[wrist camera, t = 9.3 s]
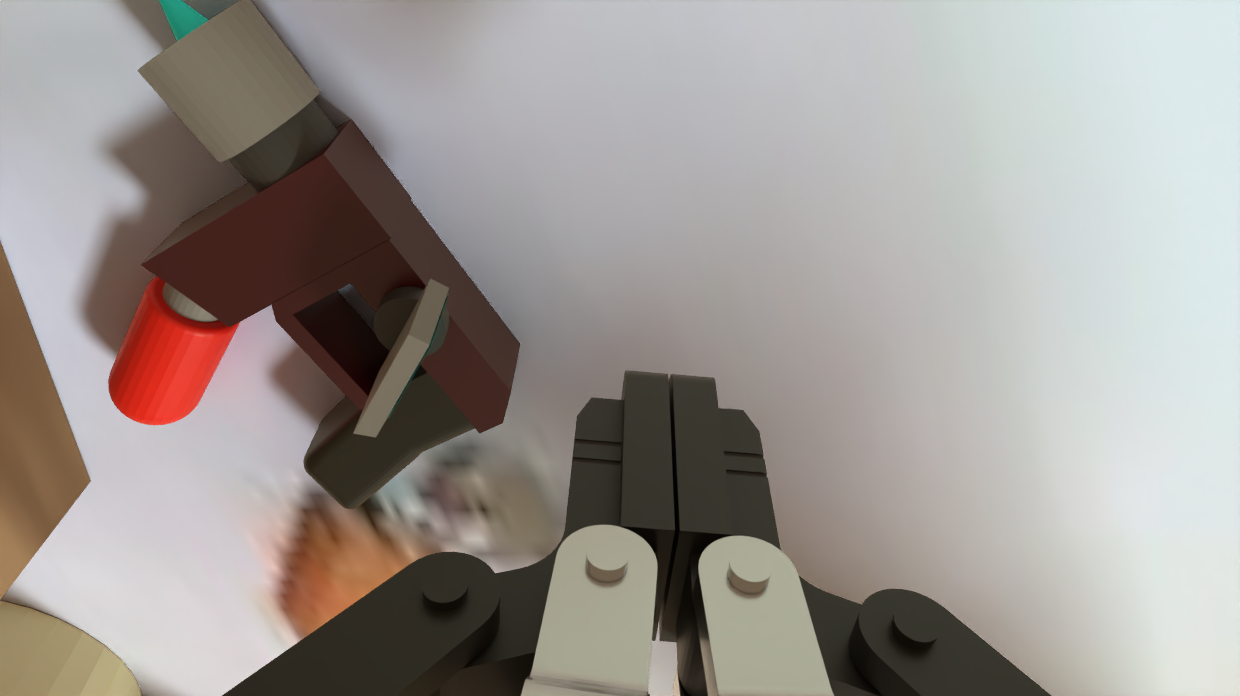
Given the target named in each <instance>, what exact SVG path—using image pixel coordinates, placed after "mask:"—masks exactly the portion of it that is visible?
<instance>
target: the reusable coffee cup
mask: <svg viewBox="0 0 1240 696" xmlns="http://www.w3.org/2000/svg"><path fill="white" fill-rule="evenodd" d="M0 696H142V695H141V690H140V688H139V686H138V683H137V681H136V679H135V677H134V675H133V674H132V673H131V672H130V670H129V669H128V668H127V667H126V665H125V664H124V663H123V661H122V660H120V659H119V658H118V657H117V656H116V655H115V654H114V653H113V652H111V651H110V650H109V649H108V648H107V647H106V646H104V645H103V644H101V643H100V642H98V641H97V640H95V639H94V638H92V637H91V636H89V635H88V634H86V633H85V632H83V631H81V630H79V629H77V628H75V627H73V626H71V625H70V624H68V623H66V622H64V621H62V620H60V619H57V618H55V617H52V616H49V615H47V614H44V613H41V612H39V611H36V610H34V609H31V608H27V607H23V606H20V605H16V604H12V603H9V602H5V601H0Z"/></svg>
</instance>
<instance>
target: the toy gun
mask: <svg viewBox="0 0 1240 696" xmlns="http://www.w3.org/2000/svg"><path fill="white" fill-rule="evenodd" d="M159 2H160V4H161V6H162V9H163V11H164V13H165V16H166V18H167V20H168V22H169V25H170V27H171V29H172V32H173V34H174V36H175V39H176V41H177V42H176V43H174V44H173V45H171V46H170V47H169V48H167V49H166V50H164V51H163V52H161V53H160V54H159V55H157V56H156V57H154V58H153V59H152V60H150V61H149V62H147V63H146V64H145V65H143V66H142V67H141V68H140V69H138V72H139V73H140V74H141V75H142V76H143V77H144V78H145V80H146V81H147V82H148V83H149V84H150V85H151V86H152V88H153V89H154V90H155V91H156V92H157V93H158V94H159V96H160V97H161V98H162V99H163V100H164V101H165V102H166V104H167V105H168V106H169V107H170V108H171V109H172V110H173V111H174V113H175V114H176V115H177V116H178V117H179V118H180V119H181V121H182V122H183V123H184V124H185V125H186V126H187V127H188V129H189V130H190V131H191V132H192V133H193V134H194V135H195V137H196V138H197V139H198V140H199V141H200V142H201V143H202V144H203V146H204V147H205V148H206V149H207V150H208V151H209V152H210V154H211V155H212V156H213V157H214V158H215V159H216V160H217V162H218V163H221V162H224V161H226V160H228V159H229V160H230V161H231V163H232V164H233V165H234V166H235V167H236V168H237V169H238V171H239V172H240V173H241V174H242V175H243V176H244V178H245V179H246V180H247V181H248V183H246V184H245V185H243V186H241V187H240V188H238V189H237V190H235V191H233V192H232V193H230V194H228V195H227V196H225V197H224V198H222V199H220V200H219V201H217V202H215V203H214V204H212V205H210V206H209V207H207V208H206V209H204V210H202V211H201V212H199V213H197V214H196V215H194V216H192V217H191V218H189V219H188V220H186V221H184V222H183V223H181V225H180V226H179V227H178V228H177V229H176V230H175V231H174V232H173V233H172V234H171V235H170V236H169V237H168V238H167V239H166V240H165V241H164V242H163V243H162V244H161V245H160V246H159V247H158V248H157V249H156V250H155V251H154V252H153V253H152V254H151V255H150V256H149V257H148V258H147V259H146V260H145V261H144V262H143V263H142V264H141V265H142V266H144V267H145V268H146V269H148V270H149V271H151V272H152V273H153V274H155V275H156V277H155V278H154V279H153V280H151V281H150V283H149V284H148V286H147V287H146V289H145V292H144V294H143V296H142V299H141V301H140V303H139V306H138V308H137V310H136V313H135V315H134V318H133V320H132V322H131V325H130V327H129V329H128V332H127V334H126V336H125V339H124V341H123V343H122V346H121V348H120V350H119V353H118V355H117V357H116V360H115V362H114V364H113V367H112V369H111V372H110V376H109V381H108V383H109V393H110V396H111V399H112V401H113V402H114V404H115V406H116V407H117V408H118V409H119V410H120V411H121V413H123V414H124V415H125V416H127V417H128V418H130V419H132V420H134V421H136V422H139V423H143V424H147V425H164V424H169V423H173V422H175V421H178V420H180V419H182V418H184V417H185V416H186V415H188V414H189V413H190V412H191V411H192V410H193V409H194V408H195V407H196V406H197V405H198V403H199V401H200V399H201V397H202V395H203V393H204V391H205V389H206V388H207V386H208V384H209V382H210V380H211V378H212V376H213V374H214V372H215V370H216V368H217V366H218V364H219V362H220V360H221V358H222V356H223V355H224V353H225V351H226V349H227V347H228V345H229V343H230V341H231V339H232V337H233V335H234V333H235V331H236V329H237V327H238V325H239V323H240V321H242V320H244V319H246V318H248V317H249V316H251V315H253V314H255V313H257V312H259V311H260V310H262V309H264V308H266V307H268V306H269V305H271V304H272V308H273V311H274V315H275V319H276V322H277V323H278V324H279V325H280V326H281V327H282V328H283V329H284V330H285V331H286V332H287V333H288V334H289V335H290V336H291V338H292V339H293V340H294V341H295V342H296V343H297V344H298V345H299V346H300V347H301V348H302V349H303V350H304V351H305V352H306V353H307V354H308V355H309V357H310V358H311V359H312V360H313V361H314V362H315V363H316V364H317V365H318V366H319V367H320V368H321V369H322V370H323V371H324V372H325V373H326V375H327V376H328V377H329V378H330V379H331V380H332V381H333V382H334V383H335V384H336V385H337V386H338V387H339V388H340V389H341V390H342V391H343V393H344V394H345V395H346V397H345V398H344V399H343V400H342V401H341V402H340V403H339V404H338V405H337V406H336V407H334V408H333V409H332V410H331V411H330V412H329V413H328V414H327V415H326V416H325V417H324V418H323V420H322V421H321V423H320V425H319V427H318V429H317V431H316V434H315V436H314V438H313V440H312V442H311V444H310V446H309V448H308V450H307V453H306V455H305V457H304V468H305V470H306V472H307V473H308V474H309V475H310V476H311V477H312V478H313V479H314V480H315V481H316V482H317V483H318V484H319V485H321V486H322V487H323V488H324V489H325V490H326V491H327V492H328V493H329V494H330V495H331V496H332V497H333V498H334V499H335V500H336V501H337V502H338V503H339V504H340V505H342V506H343V507H345V508H347V509H354V508H357V507H358V506H360V505H361V504H362V503H363V502H365V501H366V500H367V499H368V498H369V497H371V496H372V495H373V494H374V493H375V492H376V491H378V490H379V489H380V488H381V487H382V486H384V485H385V484H386V483H387V482H388V481H389V480H391V479H392V478H393V477H394V476H395V475H397V474H398V473H399V472H400V471H401V470H402V469H404V468H405V467H406V466H407V465H408V464H410V463H411V462H412V461H413V460H414V459H415V458H416V457H417V456H418V455H419V454H420V453H422V452H423V451H425V450H427V449H430V448H432V447H434V446H436V445H439V444H441V443H443V442H445V441H447V440H450V439H452V438H454V437H456V436H458V435H461V434H463V433H465V432H467V431H469V430H472V429H474V428H475V429H476V430H477V431H478V432H479V433H482V432H484V431H486V430H488V429H490V428H493V427H495V426H497V425H499V424H502V423H503V420H504V417H505V413H506V409H507V405H508V401H509V397H510V393H511V389H512V383H513V378H514V373H515V367H516V362H517V357H518V351H519V346H520V343H519V342H518V341H517V339H516V338H515V337H514V335H513V334H512V333H511V331H510V330H509V329H508V327H507V326H506V325H505V323H504V322H503V321H502V319H501V318H500V317H499V316H498V314H497V313H496V312H495V310H494V309H493V308H492V306H491V305H490V304H489V302H488V301H487V300H486V298H485V297H484V296H483V294H482V293H481V292H480V291H479V289H478V288H477V287H476V285H475V284H474V283H473V281H472V280H471V279H470V277H469V276H468V275H467V273H466V272H465V271H464V269H463V268H462V267H461V266H460V264H459V263H458V262H457V260H456V259H455V258H454V256H453V255H452V254H451V252H450V251H449V250H448V248H447V247H446V246H445V245H444V243H443V242H442V241H441V239H440V238H439V237H438V235H437V234H436V233H435V231H434V230H433V229H432V227H431V226H430V225H429V223H428V222H427V221H426V220H425V218H424V217H423V216H422V214H421V213H420V212H419V210H418V209H417V208H416V206H415V205H414V204H413V202H412V201H411V197H410V195H409V194H408V193H407V192H406V190H405V189H404V188H403V186H402V185H401V184H400V182H399V181H398V180H397V178H396V177H395V176H394V174H393V173H392V172H391V170H390V169H389V168H388V166H387V165H386V164H385V163H384V161H383V160H382V159H381V157H380V156H379V155H378V153H377V152H376V151H375V149H374V148H373V147H372V145H371V144H370V143H369V141H368V140H367V139H366V137H365V136H364V135H363V134H362V132H361V131H360V130H359V128H358V127H357V126H356V124H355V123H354V122H353V120H352V119H351V120H349V121H348V122H346V123H344V124H343V125H341V126H339V127H338V128H335V126H334V125H333V124H332V122H331V121H330V120H329V119H328V117H327V116H326V115H325V113H324V112H323V111H322V110H321V108H320V107H319V106H318V104H317V103H316V102H315V100H314V98H315V97H316V96H317V95H318V94H319V93H320V90H319V89H318V88H317V86H316V85H315V84H314V82H313V81H312V80H311V79H310V77H309V76H308V75H307V73H306V72H305V71H304V69H303V68H302V67H301V65H300V64H299V63H298V62H297V60H296V59H295V58H294V56H293V55H292V54H291V52H290V51H289V50H288V49H287V47H286V46H285V45H284V43H283V42H282V41H281V39H280V38H279V37H278V36H277V34H276V33H275V32H274V30H273V29H272V28H271V26H270V25H269V24H268V22H267V21H266V20H265V19H264V17H263V16H262V15H261V13H260V12H259V11H258V9H257V8H256V7H255V6H254V4H253V3H252V2H251V0H240V1H238V2H236V3H235V4H233V5H232V6H230V7H228V8H227V9H225V10H224V11H222V12H221V13H219V14H218V15H216V16H215V17H213V18H211V19H210V20H208V19H207V18H205V17H204V16H202V15H201V14H200V13H198V12H197V11H196V10H194V9H193V8H191V7H190V6H189V5H187V4H186V3H184V2H183V1H182V0H159ZM350 283H351V284H352V285H353V286H354V288H355V289H356V290H357V291H358V292H359V293H360V295H361V296H362V297H363V298H364V299H365V300H366V302H367V303H368V304H369V305H370V306H371V307H372V309H373V310H374V311H375V312H376V313H375V316H374V319H373V328H374V332H375V333H374V332H373V330H372V329H371V328H370V327H369V326H368V325H367V324H366V322H365V321H364V320H363V319H362V318H361V317H360V316H359V314H358V313H357V312H356V311H355V310H354V309H353V308H352V306H351V305H350V304H349V303H348V302H347V301H346V299H345V298H344V297H343V296H342V295H341V294H340V293H339V291H338V290H339V289H341V288H343V287H344V286H346V285H348V284H350Z"/></svg>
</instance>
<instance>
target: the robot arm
mask: <svg viewBox="0 0 1240 696" xmlns="http://www.w3.org/2000/svg"><path fill="white" fill-rule="evenodd" d="M766 474H767V472H766V466H765V461H764V459H763V450H762V444H761V438H760V433H759V430H758V429H757V428H756V427H755V425H754V424H753V423H752V421H751V420H750V419H749V417H748V416H747V415H746V413H745V412H744V411H743V410H734V409H722V408H718V400H717V392H716V384H715V379H714V378H709V377H698V376H686V375H675V374H671V375H670V379H669V378H668V374H661V373H650V372H638V371H626V370H625V374H624V382H623V391H622V399H621V400H614V399H603V398H591V399H590V400H589V402H588V403H587V404H586V406H585V407H584V408H583V409H582V411H581V412H580V413H579V414H578V416H577V422H576V431H575V441H574V450H573V460H572V469H571V478H570V488H569V497H568V506H567V516H566V525H565V531H564V535H563V537H562V540H561V542H560V543H559V545H558V546H557V548H556V549H555V550H554V551H553V552H552V553H551V554H550V555H548V556H547V557H546V558H544V559H543V560H541V561H539V562H537V563H535V564H533V565H530V566H528V567H524V568H520V569H516V570H511V571H506V572H501V573H496V574H495V573H494V571H493V570H492V569H491V568H490V567H489V566H488V565H487V564H486V563H485V562H483V561H482V560H480V559H479V558H476V557H474V556H472V555H468V554H465V553H459V552H441V553H435V554H431V555H428V556H425V557H423V558H420V559H418V560H416V561H415V562H413V563H411V564H410V565H408V566H407V567H405V568H404V569H403V570H401V571H400V572H398V573H397V574H395V575H394V576H393V577H391V578H390V579H388V580H387V581H385V582H384V583H383V584H381V585H380V586H378V587H377V588H375V589H374V590H373V591H371V592H370V593H368V594H367V595H365V596H364V597H363V598H361V599H360V600H358V601H357V602H355V603H354V604H353V605H351V606H350V607H348V608H347V609H345V610H344V611H343V612H341V613H340V614H338V615H337V616H335V617H334V618H332V619H331V620H330V621H328V622H327V623H325V624H324V625H322V626H321V627H320V628H318V629H317V630H315V631H314V632H312V633H311V634H310V635H308V636H307V637H305V638H304V639H302V640H301V641H300V642H298V643H297V644H295V645H294V646H292V647H291V648H290V649H288V650H287V651H285V652H284V653H282V654H281V655H280V656H278V657H277V658H275V659H274V660H272V661H271V662H270V663H268V664H267V665H265V666H264V667H262V668H261V669H259V670H258V671H257V672H255V673H254V674H252V675H251V676H249V677H248V678H247V679H245V680H244V681H242V682H241V683H239V684H238V685H237V686H235V687H234V688H232V689H231V690H229V691H228V692H227V693H225V694H224V695H222V696H650V694H648V683H649V670H650V658H651V645H652V641H655V639H656V633H657V628H658V622H659V630H660V641H669V642H677V661H678V665H677V670H676V675H675V679H674V685H673V696H1051V695H1050V694H1048V693H1047V692H1046V691H1045V690H1044V689H1042V688H1041V687H1040V686H1039V685H1038V684H1036V683H1035V682H1034V681H1033V680H1031V679H1030V678H1029V677H1028V676H1027V675H1025V674H1024V673H1023V672H1022V671H1020V670H1019V669H1018V668H1017V667H1016V666H1014V665H1013V664H1012V663H1011V662H1009V661H1008V660H1007V659H1006V658H1005V657H1003V656H1002V655H1001V654H1000V653H999V652H997V651H996V650H995V649H994V648H992V647H991V646H990V645H989V644H988V643H986V642H985V641H984V640H983V639H981V638H980V637H979V636H978V635H977V634H975V633H974V632H973V631H972V630H970V629H969V628H968V627H967V626H966V625H964V624H963V623H962V622H961V621H960V620H958V619H957V618H956V617H955V616H953V615H952V614H951V613H950V612H949V611H947V610H946V609H945V608H944V607H942V606H941V605H939V604H938V603H937V602H935V601H933V600H932V599H930V598H928V597H926V596H924V595H921V594H919V593H916V592H912V591H908V590H903V589H887V590H882V591H879V592H876V593H874V594H872V595H871V596H869V597H868V598H867V599H866V600H865V601H864V603H863V604H862V605H861V604H858V603H855V602H852V601H849V600H847V599H844V598H841V597H838V596H835V595H832V594H829V593H827V592H825V591H822V590H820V589H818V588H816V587H814V586H813V585H811V584H809V583H808V582H806V581H805V580H804V579H802V578H801V577H800V576H799V575H798V573H797V570H796V568H795V566H794V565H793V563H792V561H791V560H790V559H789V558H788V557H787V555H785V554H784V553H783V552H782V551H781V548H780V544H779V539H778V533H777V528H776V522H775V517H774V511H773V505H772V500H771V494H770V489H769V483H768V478H766Z"/></svg>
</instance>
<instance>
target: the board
mask: <svg viewBox="0 0 1240 696" xmlns="http://www.w3.org/2000/svg"><path fill="white" fill-rule="evenodd" d="M90 481H91V480H90V478H89V475H88V472H87V470H86V467H85V464H84V462H83V459H82V457H81V454H80V451H79V449H78V446H77V443H76V441H75V438H74V435H73V433H72V430H71V427H70V425H69V422H68V419H67V417H66V414H65V412H64V409H63V406H62V404H61V401H60V398H59V396H58V393H57V390H56V388H55V385H54V382H53V380H52V377H51V374H50V372H49V369H48V366H47V364H46V361H45V359H44V356H43V353H42V351H41V348H40V345H39V343H38V340H37V337H36V335H35V332H34V329H33V327H32V324H31V321H30V319H29V316H28V313H27V311H26V308H25V306H24V303H23V300H22V298H21V295H20V292H19V290H18V287H17V284H16V282H15V279H14V276H13V274H12V271H11V268H10V266H9V263H8V261H7V258H6V255H5V253H4V250H3V247H2V245H1V242H0V599H1V598H2V597H3V595H4V594H5V593H6V592H7V590H8V589H9V588H10V586H11V585H12V584H13V582H14V581H15V580H16V578H17V577H18V576H19V574H20V573H21V572H22V571H23V569H24V568H25V567H26V565H27V564H28V563H29V561H30V560H31V559H32V557H33V556H34V555H35V553H36V552H37V551H38V550H39V548H40V547H41V546H42V544H43V543H44V542H45V540H46V539H47V538H48V536H49V535H50V534H51V532H52V531H53V530H54V529H55V527H56V526H57V525H58V523H59V522H60V521H61V519H62V518H63V517H64V515H65V514H66V513H67V511H68V510H69V509H70V508H71V506H72V505H73V504H74V502H75V501H76V500H77V498H78V497H79V496H80V494H81V493H82V492H83V491H84V489H85V488H86V487H87V485H88V484H89V483H90Z"/></svg>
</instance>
